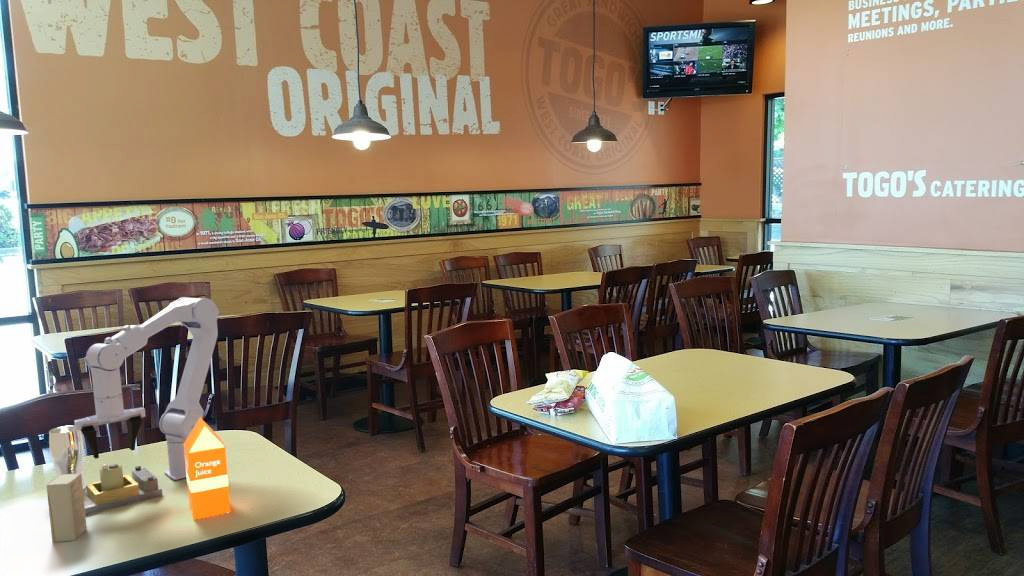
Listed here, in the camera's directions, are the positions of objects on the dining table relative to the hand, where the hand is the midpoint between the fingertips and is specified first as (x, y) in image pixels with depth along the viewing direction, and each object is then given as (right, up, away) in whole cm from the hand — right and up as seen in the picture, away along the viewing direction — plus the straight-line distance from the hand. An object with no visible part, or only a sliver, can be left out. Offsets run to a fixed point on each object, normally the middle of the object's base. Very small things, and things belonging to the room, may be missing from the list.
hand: (114, 453), depth 184 cm
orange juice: (+25, -11, -9) cm, 29 cm away
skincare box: (+1, -13, -20) cm, 24 cm away
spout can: (0, -9, -1) cm, 9 cm away
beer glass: (-14, -10, +7) cm, 18 cm away
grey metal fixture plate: (0, -10, 0) cm, 10 cm away
